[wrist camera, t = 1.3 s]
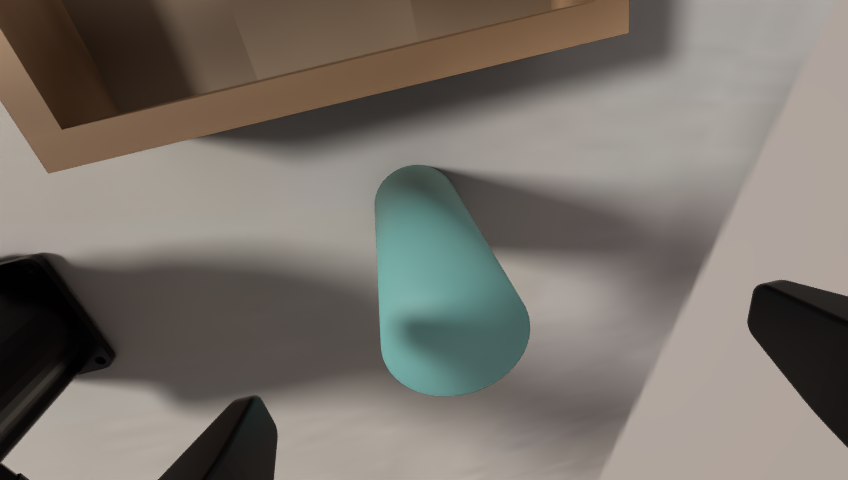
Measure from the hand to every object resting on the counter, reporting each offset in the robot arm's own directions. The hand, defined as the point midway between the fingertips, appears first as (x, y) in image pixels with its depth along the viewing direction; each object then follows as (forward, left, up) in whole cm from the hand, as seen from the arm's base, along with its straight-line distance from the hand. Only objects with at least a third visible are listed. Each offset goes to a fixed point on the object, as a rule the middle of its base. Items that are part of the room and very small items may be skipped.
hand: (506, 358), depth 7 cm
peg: (-2, +1, -13) cm, 13 cm away
